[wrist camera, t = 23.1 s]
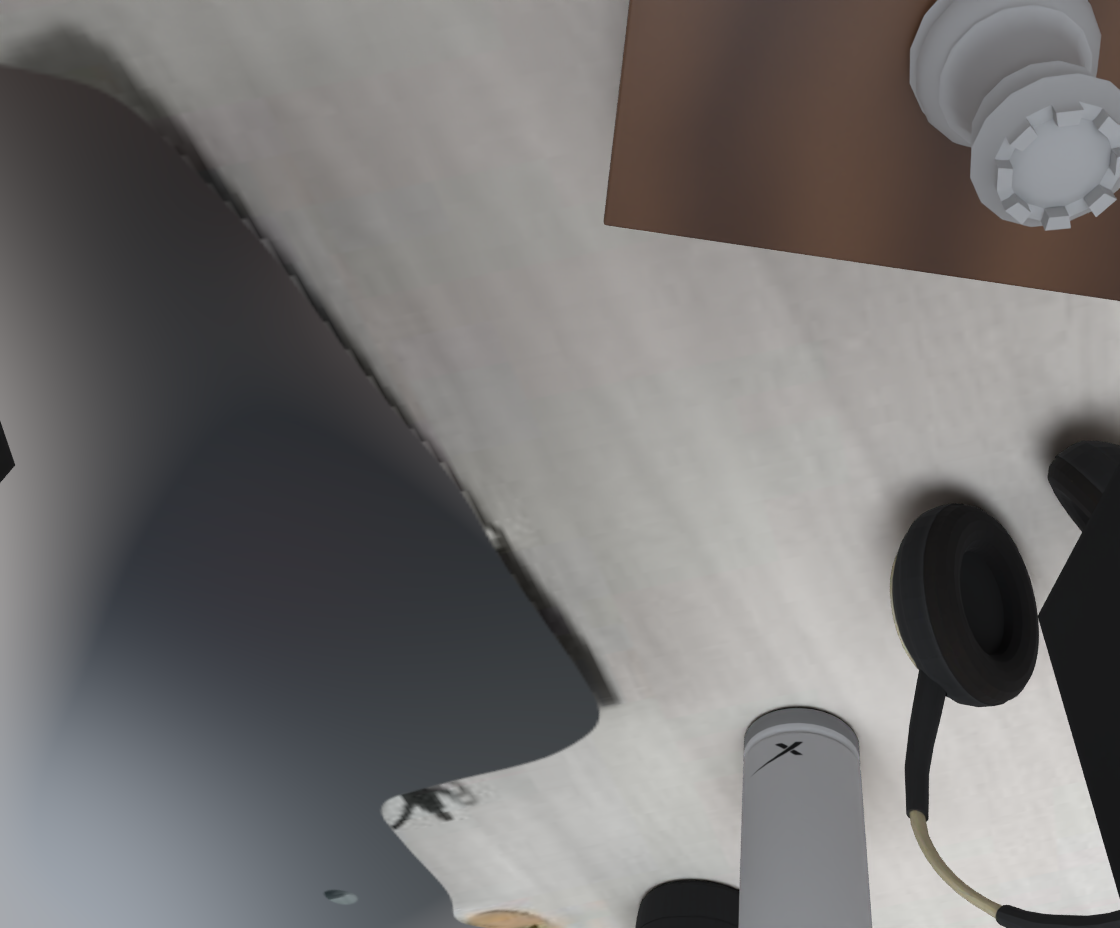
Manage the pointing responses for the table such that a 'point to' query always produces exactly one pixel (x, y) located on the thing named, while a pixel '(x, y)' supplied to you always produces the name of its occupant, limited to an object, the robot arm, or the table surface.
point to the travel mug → (802, 824)
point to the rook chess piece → (1023, 104)
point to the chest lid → (823, 145)
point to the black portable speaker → (690, 906)
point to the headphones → (978, 635)
